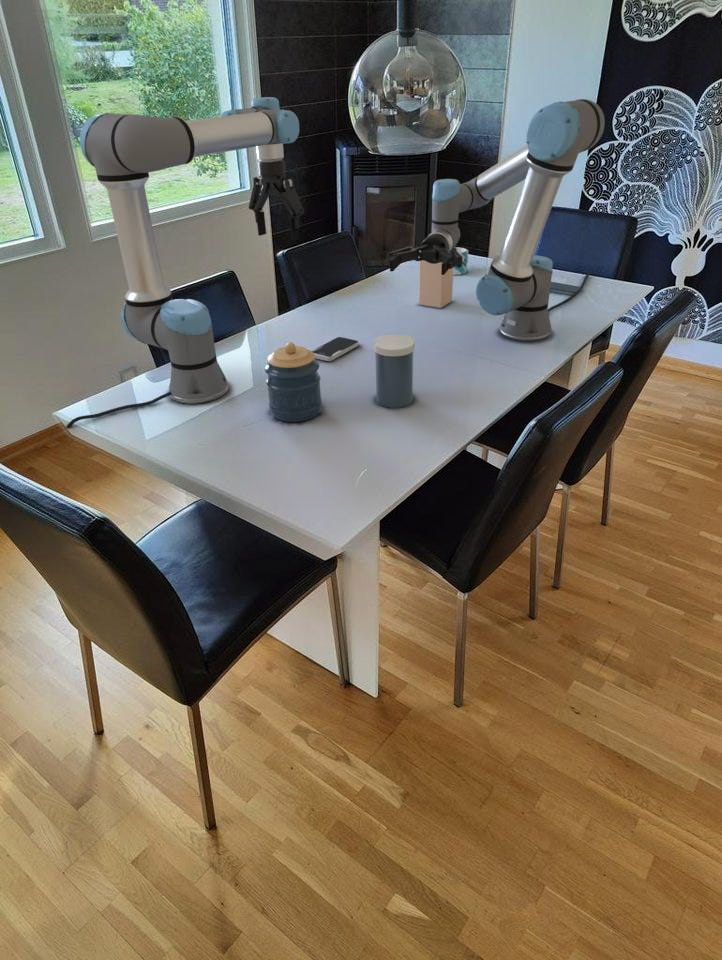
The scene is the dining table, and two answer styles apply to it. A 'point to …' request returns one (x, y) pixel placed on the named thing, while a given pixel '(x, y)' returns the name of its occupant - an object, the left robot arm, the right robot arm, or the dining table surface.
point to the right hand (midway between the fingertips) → (416, 267)
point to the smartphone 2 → (564, 288)
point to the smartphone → (334, 348)
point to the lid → (394, 345)
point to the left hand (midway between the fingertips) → (278, 237)
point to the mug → (464, 254)
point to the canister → (293, 384)
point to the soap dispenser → (434, 285)
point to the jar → (394, 380)
